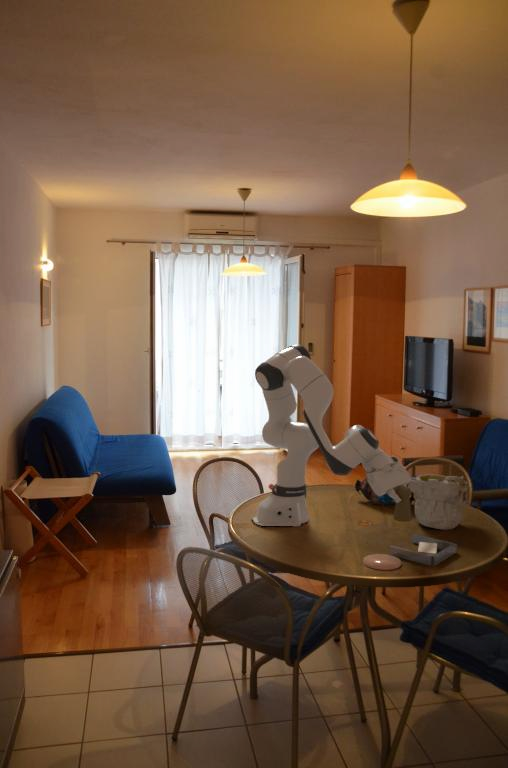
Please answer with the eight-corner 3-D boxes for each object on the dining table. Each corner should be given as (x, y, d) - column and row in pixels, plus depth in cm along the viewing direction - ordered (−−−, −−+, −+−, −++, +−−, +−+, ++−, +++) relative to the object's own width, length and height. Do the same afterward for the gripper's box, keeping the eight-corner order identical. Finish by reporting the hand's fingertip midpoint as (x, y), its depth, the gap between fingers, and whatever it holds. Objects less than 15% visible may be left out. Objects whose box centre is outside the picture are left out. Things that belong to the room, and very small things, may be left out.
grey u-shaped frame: (389, 554, 219) (389, 546, 219) (413, 541, 231) (413, 533, 231) (433, 566, 208) (433, 557, 208) (456, 552, 221) (456, 543, 221)
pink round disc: (372, 571, 204) (372, 569, 204) (357, 557, 216) (357, 555, 216) (407, 568, 207) (407, 565, 207) (391, 554, 219) (391, 552, 219)
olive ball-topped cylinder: (412, 522, 216) (412, 489, 215) (393, 521, 217) (394, 488, 216) (411, 516, 222) (412, 485, 221) (393, 515, 223) (393, 484, 222)
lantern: (409, 521, 275) (354, 509, 288) (419, 487, 283) (365, 477, 295) (402, 504, 263) (345, 492, 276) (413, 469, 271) (356, 459, 283)
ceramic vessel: (411, 488, 271) (449, 447, 260) (453, 533, 261) (495, 492, 250) (385, 499, 254) (425, 455, 242) (430, 548, 243) (474, 504, 232)
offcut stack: (417, 561, 214) (417, 552, 214) (418, 550, 225) (419, 541, 224) (436, 563, 212) (436, 554, 212) (437, 551, 223) (437, 543, 223)
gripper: (369, 466, 215) (395, 500, 209) (399, 456, 230) (424, 488, 225) (357, 477, 218) (382, 511, 213) (388, 467, 233) (412, 498, 228)
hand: (404, 499), depth 219 cm, fingers closed on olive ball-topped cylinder, 5 cm apart
